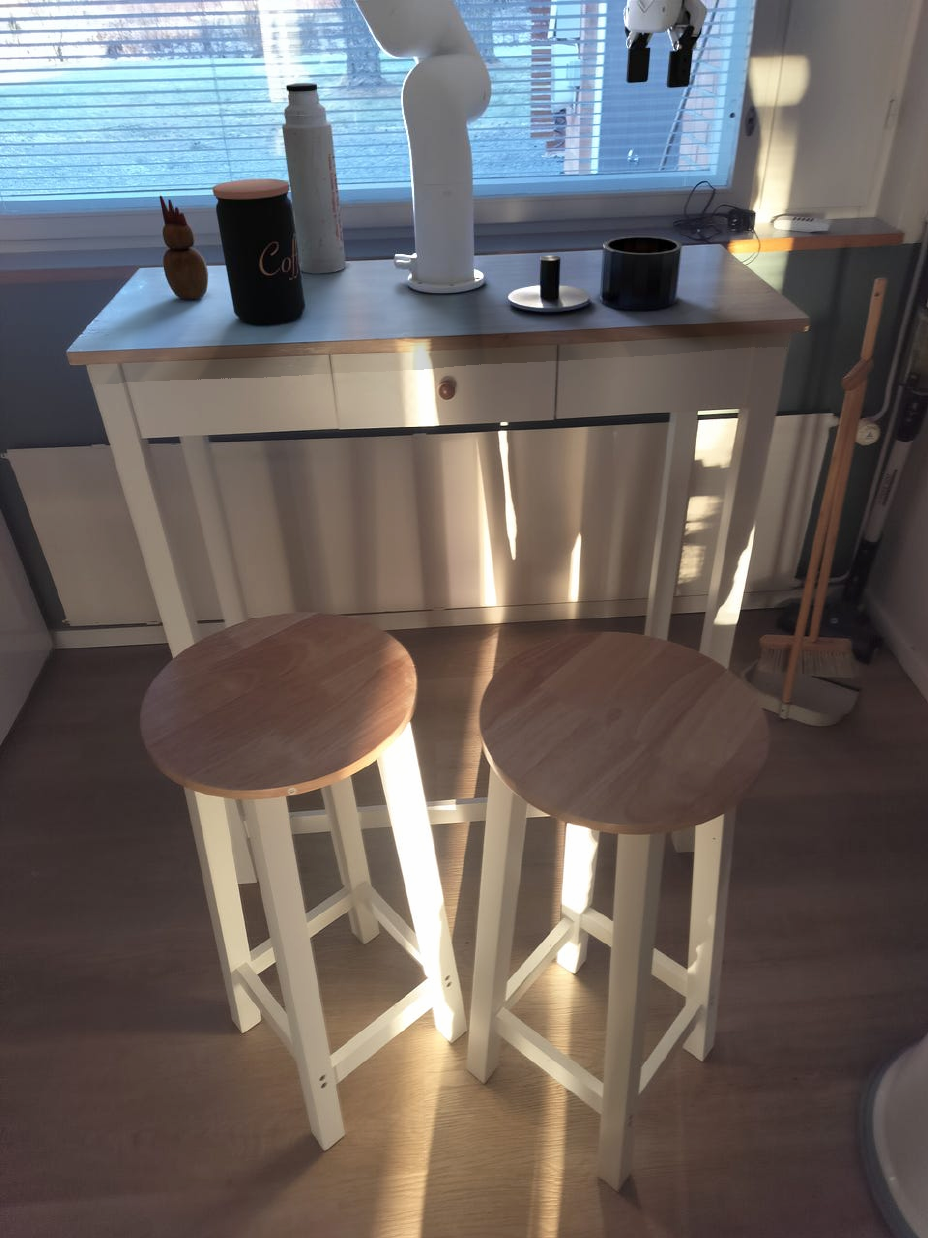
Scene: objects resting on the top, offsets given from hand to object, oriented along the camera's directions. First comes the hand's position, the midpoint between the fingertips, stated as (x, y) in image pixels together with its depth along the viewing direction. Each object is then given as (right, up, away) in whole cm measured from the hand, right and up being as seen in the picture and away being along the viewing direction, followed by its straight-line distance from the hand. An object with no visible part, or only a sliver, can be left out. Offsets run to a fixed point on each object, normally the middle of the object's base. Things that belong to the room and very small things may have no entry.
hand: (656, 84), depth 117 cm
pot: (+1, -23, +17) cm, 28 cm away
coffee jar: (-55, -26, +15) cm, 63 cm away
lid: (-13, -23, +16) cm, 31 cm away
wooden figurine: (-70, -20, +25) cm, 77 cm away
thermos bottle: (-51, -10, +38) cm, 64 cm away
